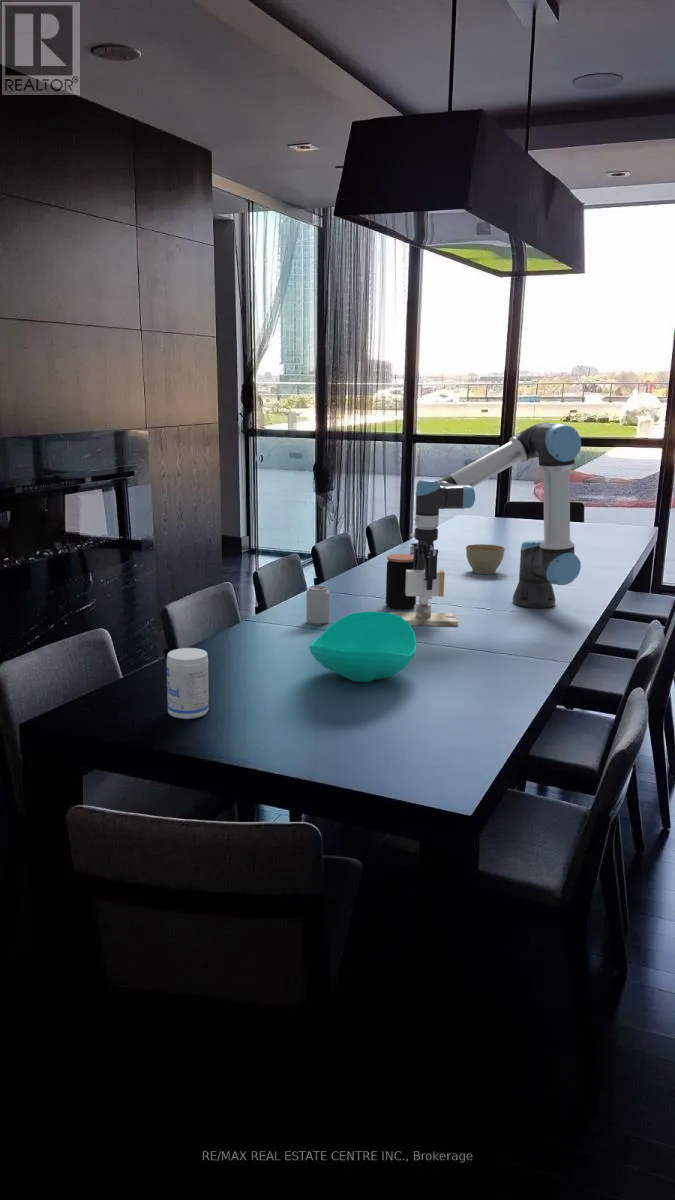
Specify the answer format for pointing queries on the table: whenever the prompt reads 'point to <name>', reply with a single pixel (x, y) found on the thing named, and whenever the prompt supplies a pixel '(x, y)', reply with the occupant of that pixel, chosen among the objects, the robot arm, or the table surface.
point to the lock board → (429, 621)
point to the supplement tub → (187, 683)
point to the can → (317, 605)
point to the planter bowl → (484, 557)
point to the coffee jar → (398, 582)
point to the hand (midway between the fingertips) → (423, 597)
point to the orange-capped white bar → (417, 584)
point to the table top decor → (366, 646)
